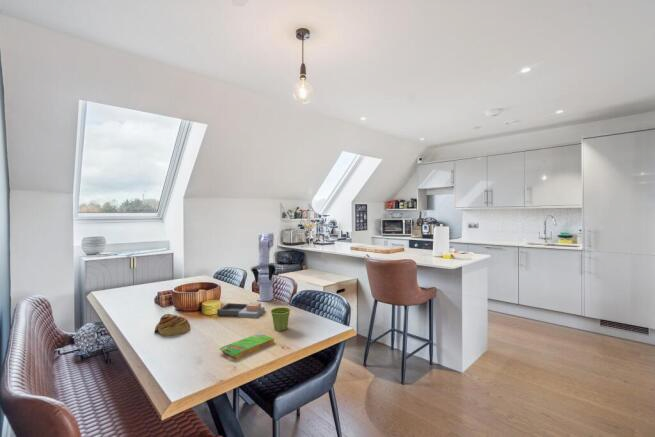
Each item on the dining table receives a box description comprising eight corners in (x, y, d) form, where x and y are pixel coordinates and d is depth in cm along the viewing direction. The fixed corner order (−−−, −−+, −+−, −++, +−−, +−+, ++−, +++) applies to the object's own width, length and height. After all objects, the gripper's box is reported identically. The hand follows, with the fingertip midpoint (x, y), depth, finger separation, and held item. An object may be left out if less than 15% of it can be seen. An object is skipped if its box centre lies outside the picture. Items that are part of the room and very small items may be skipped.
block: (250, 306, 175) (250, 302, 175) (260, 307, 174) (260, 303, 174) (246, 310, 169) (246, 305, 169) (256, 310, 168) (256, 306, 168)
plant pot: (289, 332, 144) (289, 313, 144) (268, 332, 144) (268, 313, 144) (292, 325, 153) (291, 307, 153) (272, 325, 154) (272, 307, 153)
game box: (274, 345, 133) (232, 361, 117) (259, 339, 139) (217, 354, 123) (274, 338, 133) (233, 352, 117) (259, 332, 139) (217, 346, 123)
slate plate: (247, 309, 177) (247, 305, 177) (264, 310, 176) (264, 306, 176) (238, 316, 165) (238, 312, 165) (256, 317, 164) (256, 313, 164)
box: (228, 308, 179) (228, 303, 179) (247, 309, 177) (247, 304, 177) (217, 315, 167) (217, 309, 167) (238, 316, 165) (238, 310, 165)
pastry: (156, 327, 150) (156, 311, 150) (191, 323, 155) (190, 307, 155) (152, 338, 138) (151, 320, 138) (189, 333, 143) (189, 316, 143)
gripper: (249, 257, 177) (247, 279, 169) (273, 253, 176) (273, 275, 167) (253, 263, 183) (252, 285, 174) (277, 259, 181) (277, 280, 173)
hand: (263, 280), depth 171 cm, fingers open, 7 cm apart
